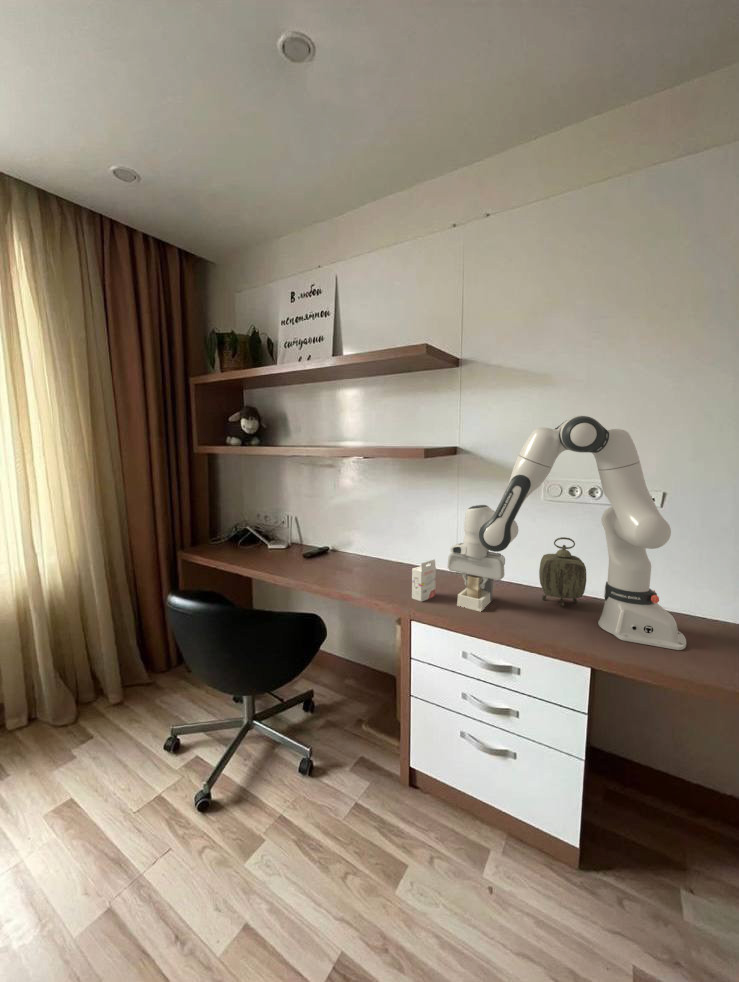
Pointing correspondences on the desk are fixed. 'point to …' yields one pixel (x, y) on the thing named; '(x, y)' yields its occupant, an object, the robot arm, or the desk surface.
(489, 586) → the post socket
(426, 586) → the ink cartridge box
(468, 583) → the rail end bracket
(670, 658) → the desk surface
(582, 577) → the tabletop clock
